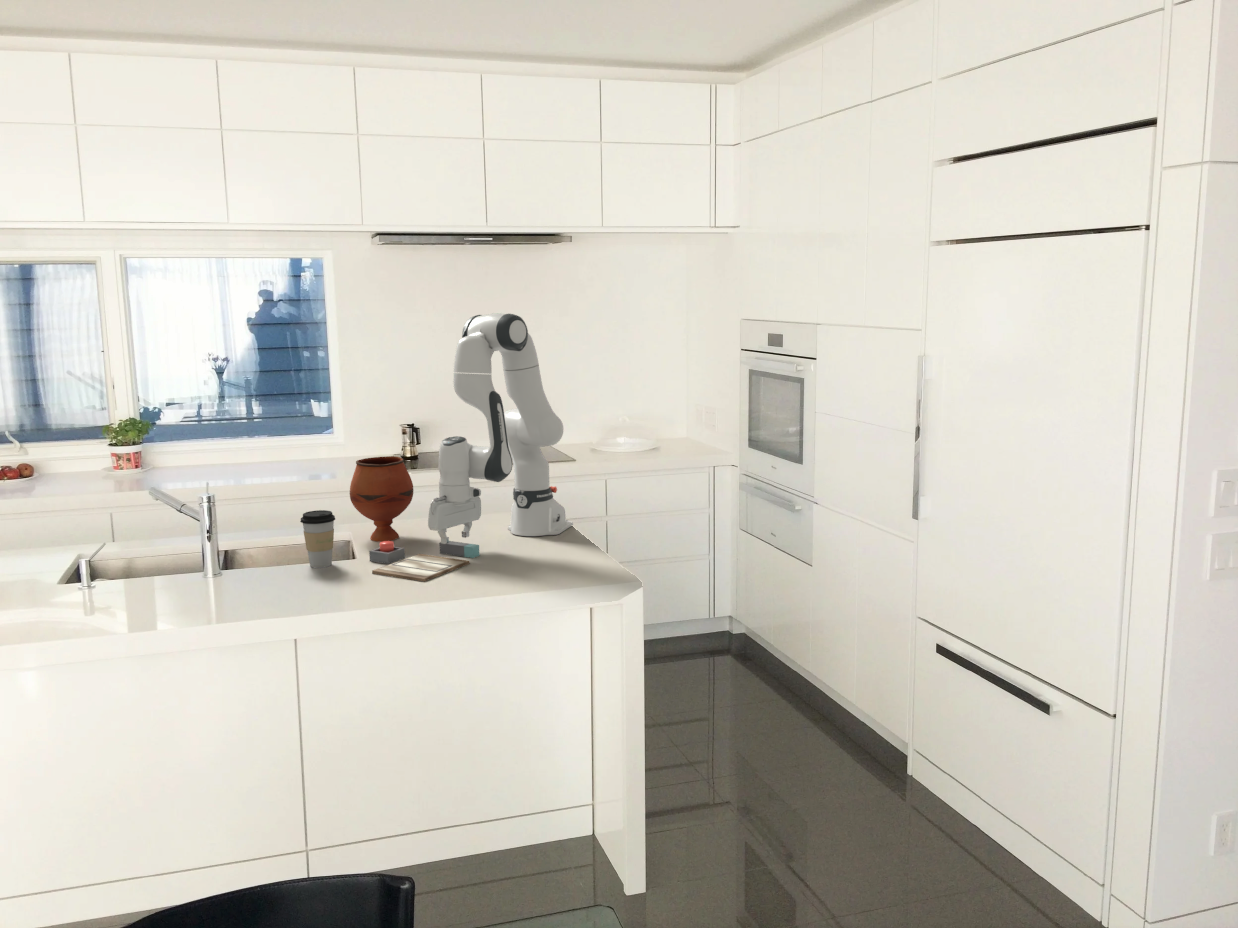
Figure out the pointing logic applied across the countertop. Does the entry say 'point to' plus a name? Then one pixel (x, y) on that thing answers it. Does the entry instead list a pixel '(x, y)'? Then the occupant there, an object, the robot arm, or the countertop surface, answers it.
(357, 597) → the countertop surface
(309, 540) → the coffee cup
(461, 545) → the block
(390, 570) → the drawing board
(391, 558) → the button housing
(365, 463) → the goblet
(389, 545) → the button
